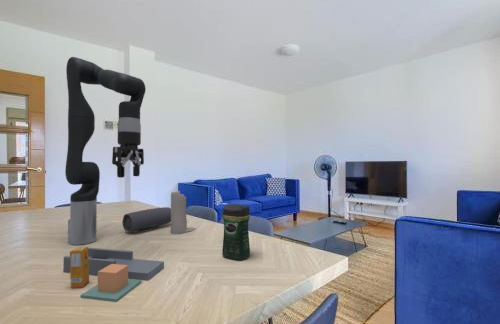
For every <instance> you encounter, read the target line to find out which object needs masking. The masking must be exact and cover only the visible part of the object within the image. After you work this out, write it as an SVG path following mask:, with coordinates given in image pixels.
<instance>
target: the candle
mask: <svg viewBox="0 0 500 324" xmlns="http://www.w3.org/2000/svg"><path fill="white" fill-rule="evenodd" d="M170 193H171V194H170V208H171V222H170V234H172V235H182V234H186V233H188V232H192V231H194V230H196V229H197V228H196V227H193V226H191V227H188V221H187V220H188V219H187V196H185V195H184V194H183V193H181V191H180V190H176V191H171V192H170Z"/></svg>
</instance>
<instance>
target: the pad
mask: <svg viewBox="0 0 500 324" xmlns="http://www.w3.org/2000/svg"><path fill="white" fill-rule="evenodd" d="M141 283H142V280H138V279H128V284H127V285H126V286H124V287H123V288H122V289H120V290H119V291H117V292H116V293H111V292H101V291H98V284H95V285H94V286H93V287H92V288H89V289H88V290H87V291H85V292H83V293H82V294H80V298H83V299H91V300H92V299H93V300H97V301H105V302H106V301H109V302H114V303H115V302H118V301H120V300H121V299H122V298H123V297H125V296H127V294H129V293H131V291H132V290H134V289H135V288H136V287H138V286H139V285H140V284H141Z"/></svg>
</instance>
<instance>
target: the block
mask: <svg viewBox="0 0 500 324" xmlns="http://www.w3.org/2000/svg"><path fill="white" fill-rule="evenodd" d="M127 284H128V265H119V264H110V265H109V266H107V267H105V268H103V269H101V270H100V271H98V275H97V285H98V291H101V292H111V293H116V292H117V291H119V290H120V289H122V288H123V287H124V286H126V285H127Z"/></svg>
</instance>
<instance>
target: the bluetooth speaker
mask: <svg viewBox="0 0 500 324" xmlns="http://www.w3.org/2000/svg"><path fill="white" fill-rule="evenodd" d="M168 224H171V207H167V206H166V207H165V206H163V207H156V208H147V209H142V210H137V211H133V212H129V213H128V212H127V213H125V214H124V215H123V218H122V228H123V230H124V231H125V232H127V233H128V232H135V231H137V232H140V231H142V232H146V230H148V231H151V229H152V230H156V229H159V228H160V226H164V225H168Z"/></svg>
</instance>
